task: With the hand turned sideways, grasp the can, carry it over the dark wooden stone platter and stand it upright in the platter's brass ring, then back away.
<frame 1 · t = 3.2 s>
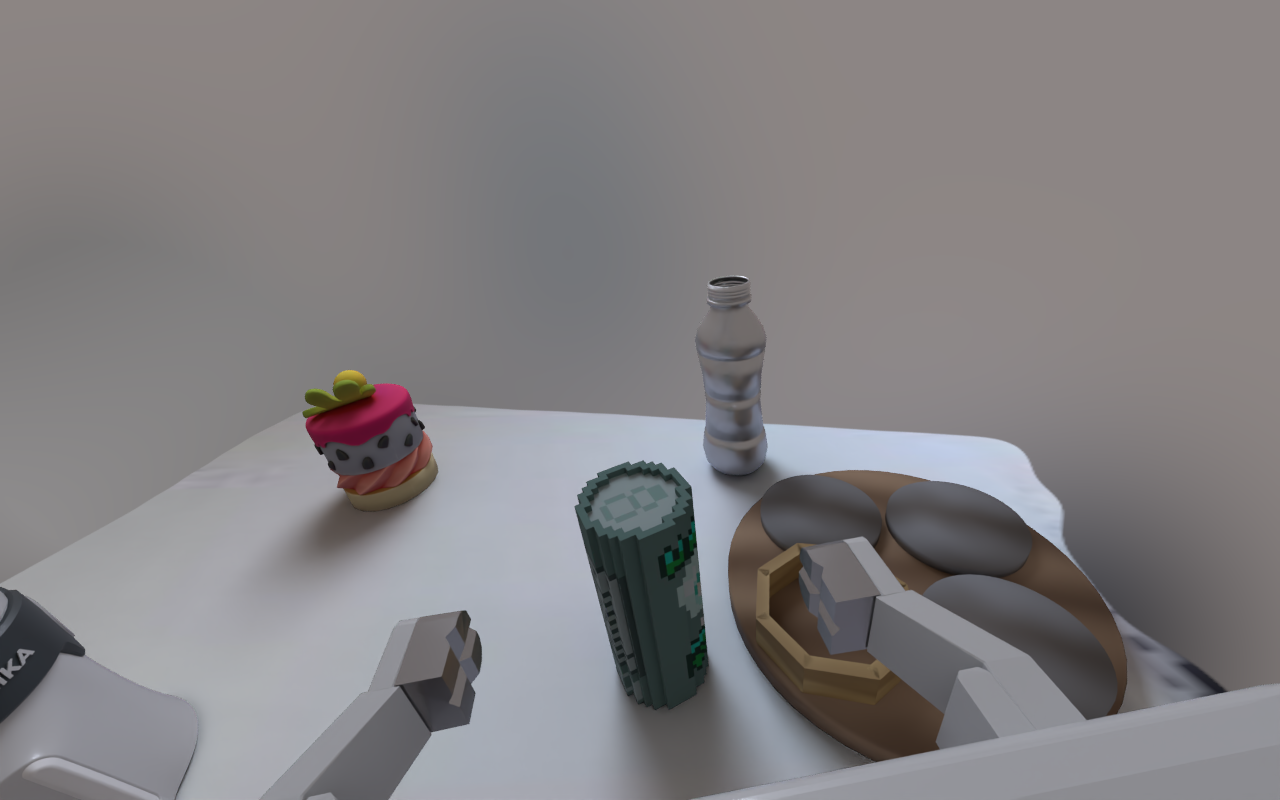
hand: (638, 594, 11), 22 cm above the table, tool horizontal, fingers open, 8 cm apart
plastic bottle: (735, 465, 50), on the table
can: (662, 662, 32), on the table
cake: (396, 483, 56), on the table
wooden stone platter: (892, 592, 35), on the table
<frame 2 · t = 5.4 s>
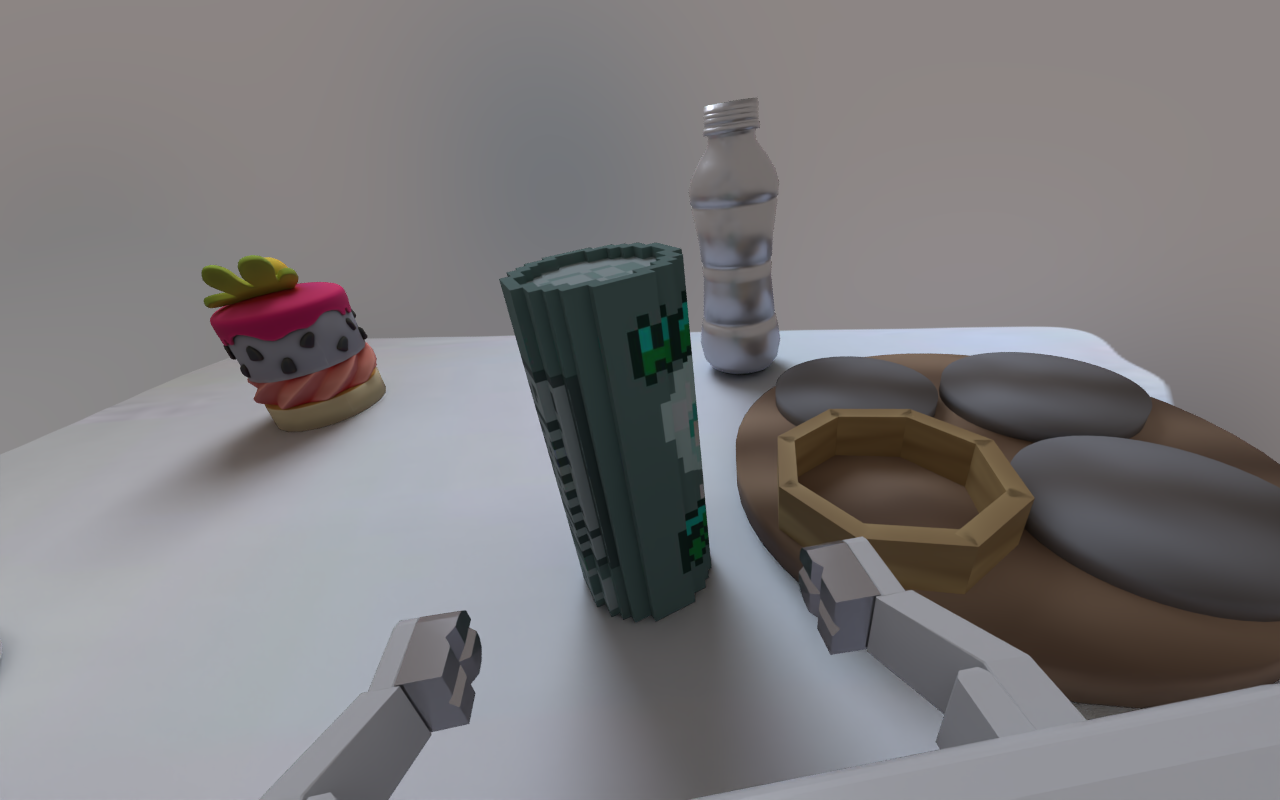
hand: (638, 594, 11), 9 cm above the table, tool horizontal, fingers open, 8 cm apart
plastic bottle: (740, 368, 41), on the table
can: (647, 567, 23), on the table
cake: (334, 406, 46), on the table
wooden stone platter: (958, 476, 26), on the table
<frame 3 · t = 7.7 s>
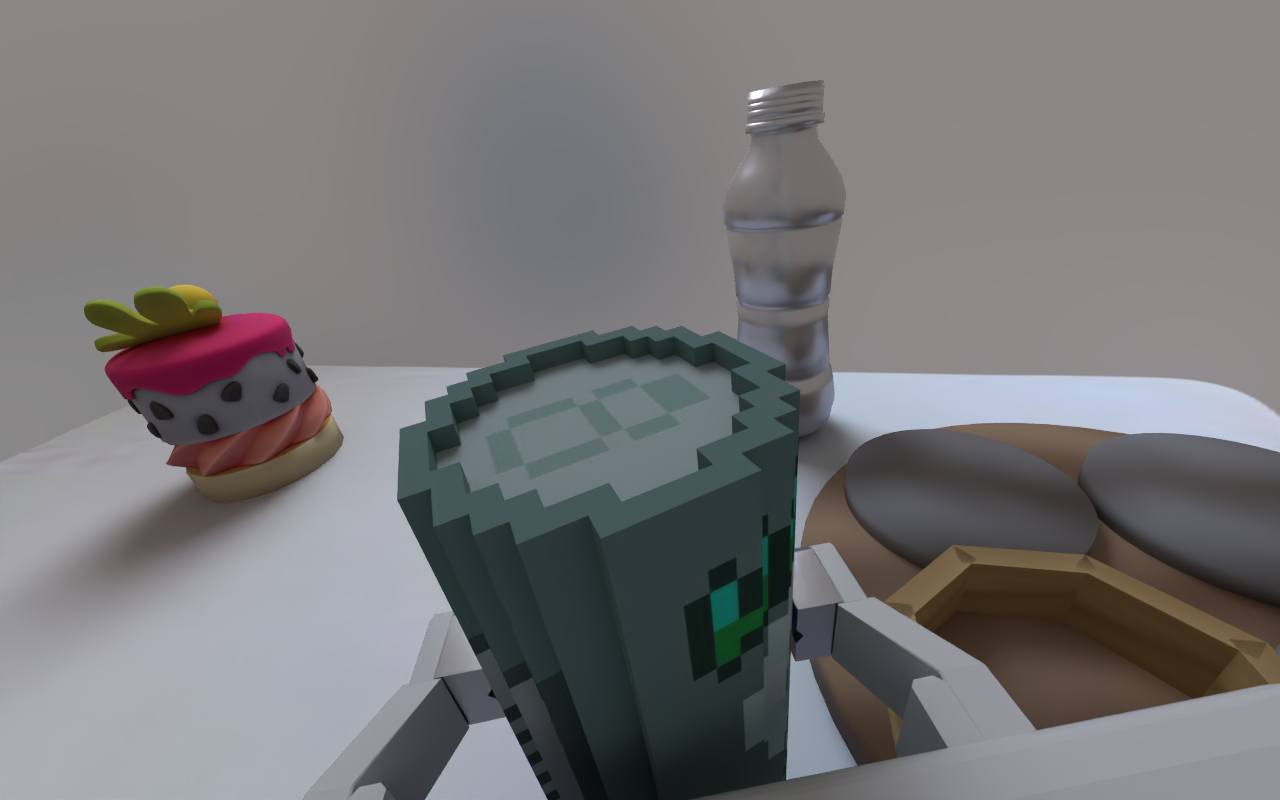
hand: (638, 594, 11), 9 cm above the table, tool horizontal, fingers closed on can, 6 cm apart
plastic bottle: (780, 426, 33), on the table
cake: (279, 463, 38), on the table
wooden stone platter: (1141, 643, 17), on the table
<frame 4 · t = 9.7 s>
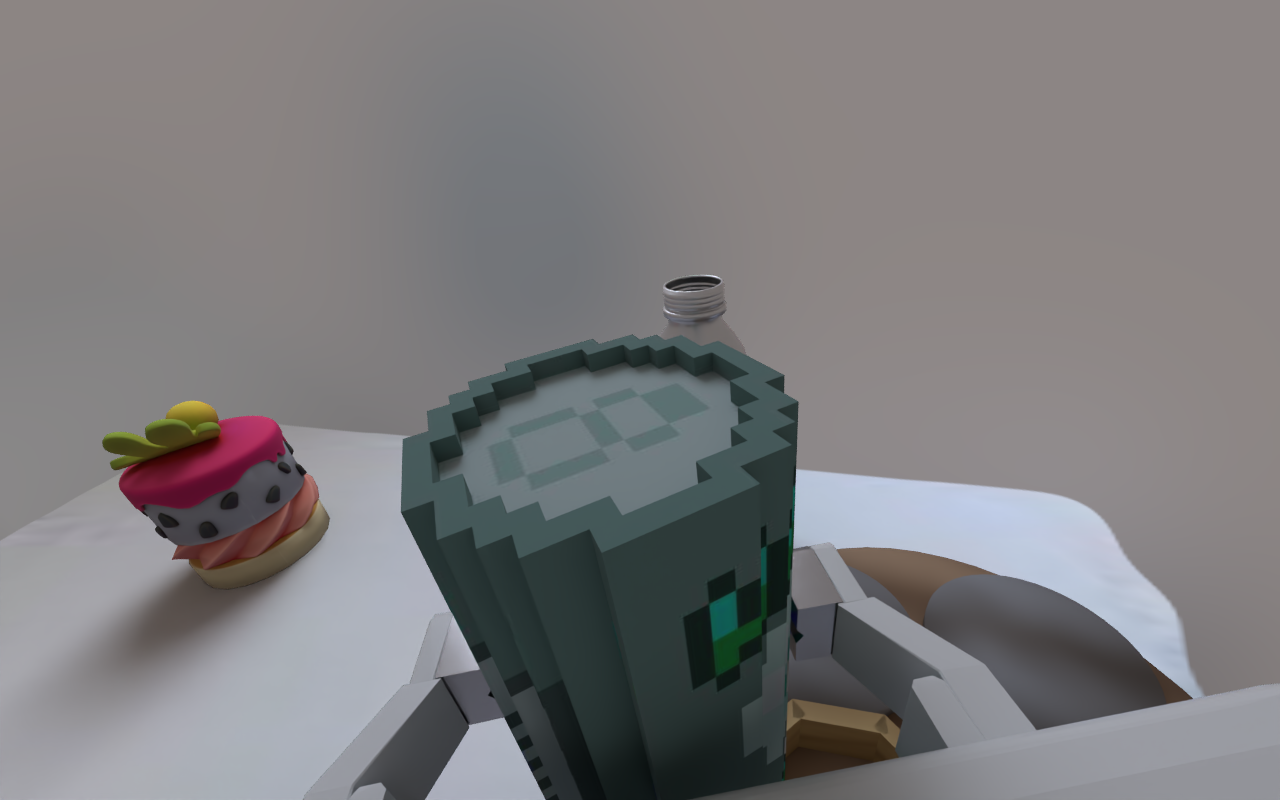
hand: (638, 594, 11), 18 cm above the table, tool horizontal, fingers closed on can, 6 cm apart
plastic bottle: (710, 528, 38), on the table
cake: (271, 545, 43), on the table
wooden stone platter: (940, 771, 22), on the table
when the fingers open (12 cm above the table, at t = 12.1 s): can drops 1 cm, resting on wooden stone platter.
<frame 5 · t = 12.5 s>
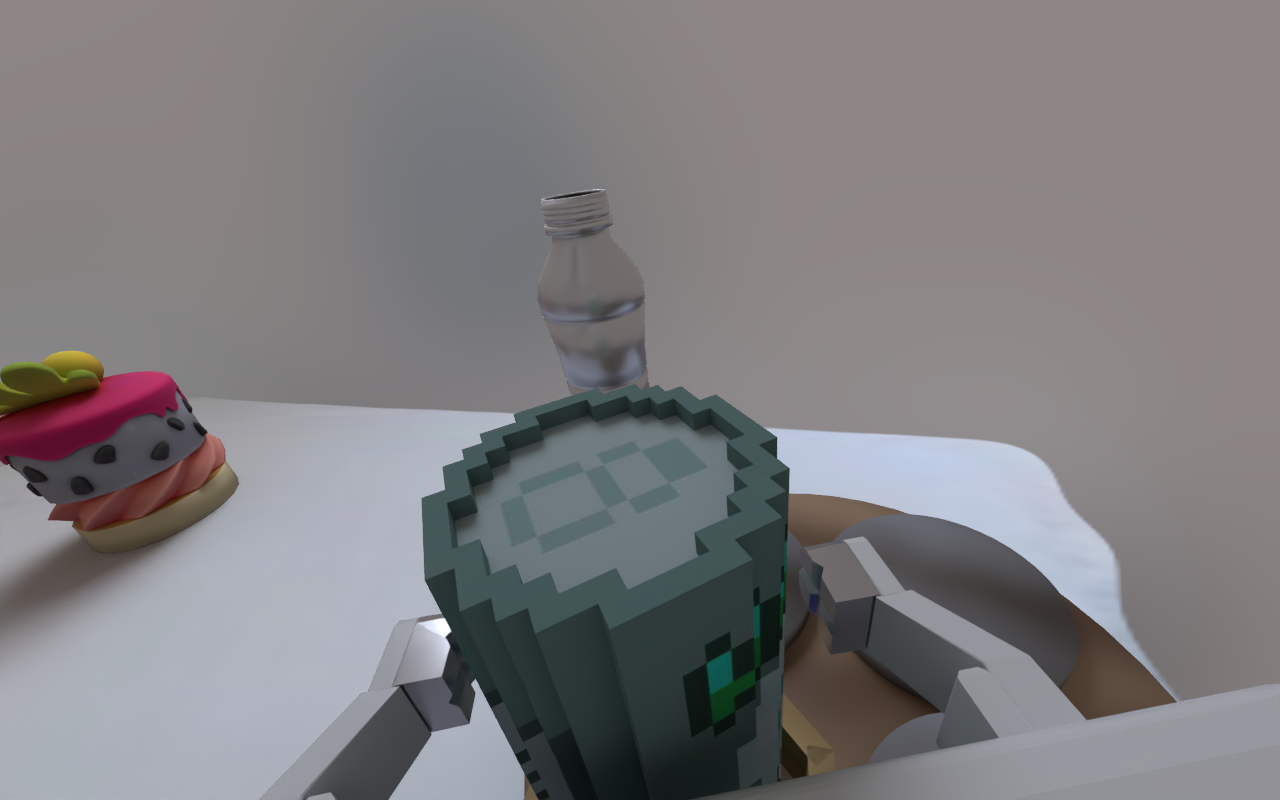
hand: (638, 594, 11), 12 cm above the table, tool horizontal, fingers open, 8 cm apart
plastic bottle: (627, 483, 35), on the table
cake: (172, 510, 40), on the table
wooden stone platter: (824, 724, 19), on the table
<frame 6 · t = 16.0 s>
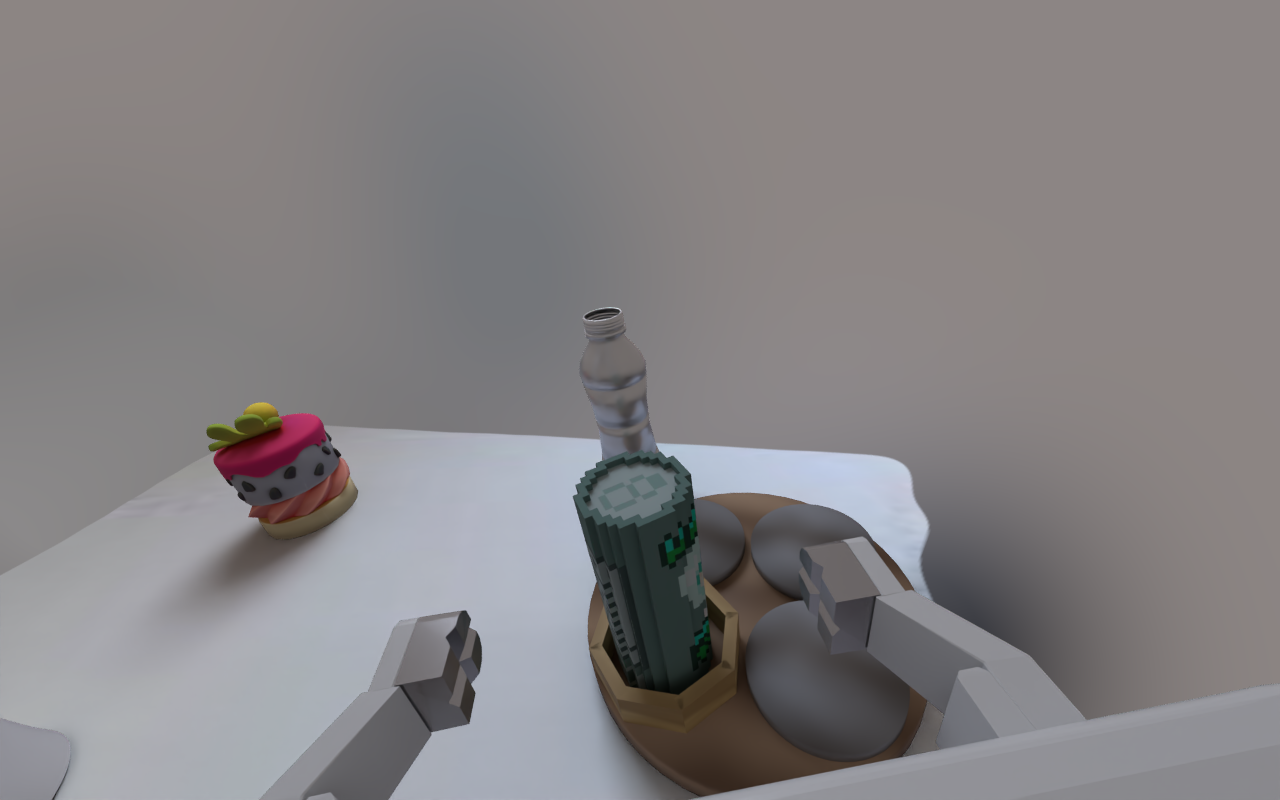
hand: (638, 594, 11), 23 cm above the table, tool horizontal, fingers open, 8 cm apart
plastic bottle: (636, 487, 51), on the table
can: (666, 656, 32), point 2 cm above the table, touching wooden stone platter
cake: (315, 510, 57), on the table
wooden stone platter: (746, 616, 36), on the table
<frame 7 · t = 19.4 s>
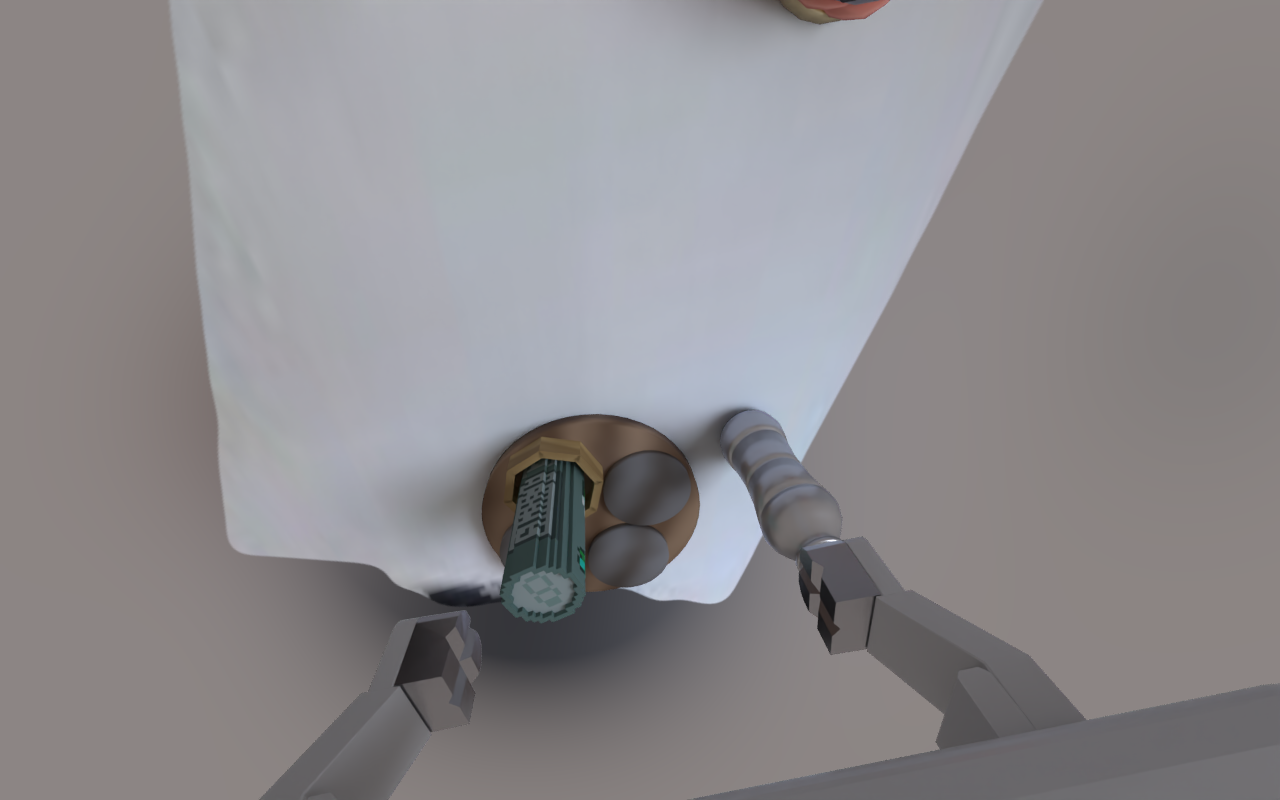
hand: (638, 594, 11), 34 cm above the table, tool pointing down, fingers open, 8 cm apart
plastic bottle: (744, 427, 51), on the table
can: (553, 474, 49), point 2 cm above the table, touching wooden stone platter
wooden stone platter: (593, 505, 53), on the table
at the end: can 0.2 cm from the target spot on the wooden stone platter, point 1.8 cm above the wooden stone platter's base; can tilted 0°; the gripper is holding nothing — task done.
